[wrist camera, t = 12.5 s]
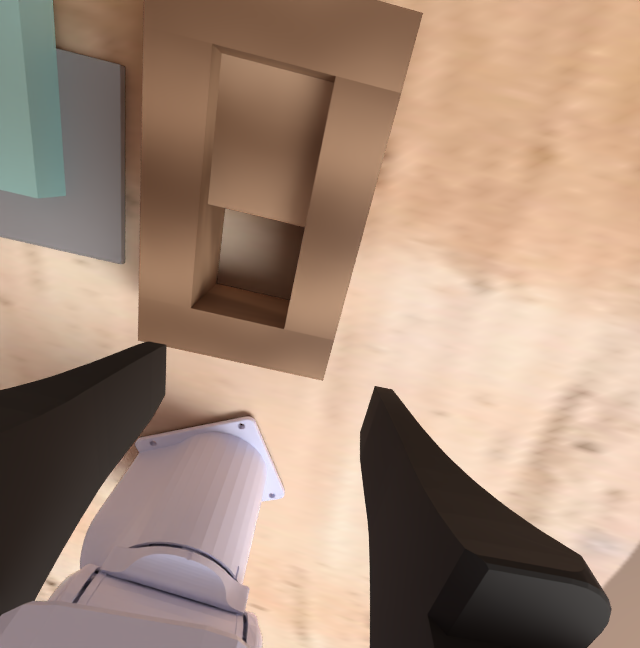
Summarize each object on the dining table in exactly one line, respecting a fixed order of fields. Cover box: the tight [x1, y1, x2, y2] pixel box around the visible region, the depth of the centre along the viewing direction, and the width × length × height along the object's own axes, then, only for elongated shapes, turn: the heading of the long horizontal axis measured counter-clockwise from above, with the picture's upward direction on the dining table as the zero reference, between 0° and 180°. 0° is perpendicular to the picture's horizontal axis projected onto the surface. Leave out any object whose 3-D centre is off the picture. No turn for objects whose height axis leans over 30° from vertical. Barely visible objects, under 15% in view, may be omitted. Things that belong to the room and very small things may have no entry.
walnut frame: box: [138, 0, 423, 381], centre depth 18 cm, size 16×10×4 cm, turn 167°
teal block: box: [0, 0, 66, 198], centre depth 17 cm, size 9×4×2 cm, turn 167°
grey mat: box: [0, 48, 125, 264], centre depth 19 cm, size 10×10×1 cm
